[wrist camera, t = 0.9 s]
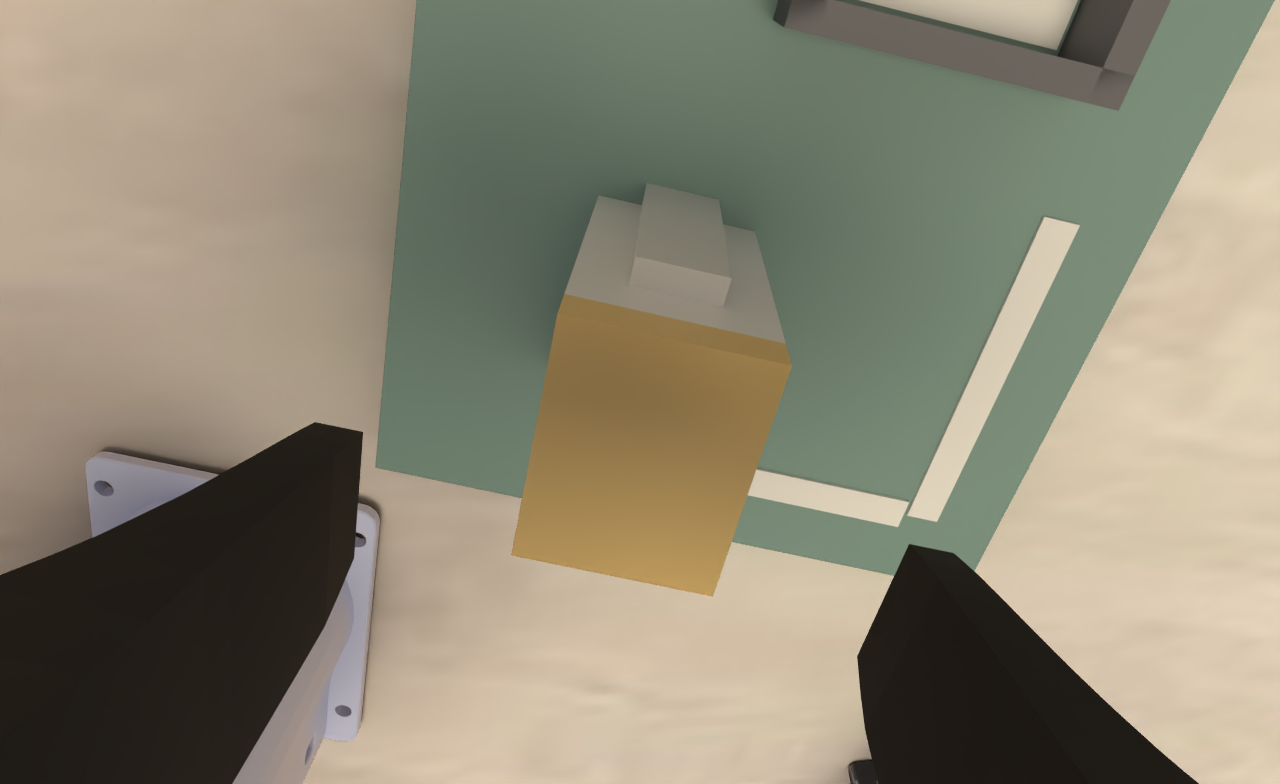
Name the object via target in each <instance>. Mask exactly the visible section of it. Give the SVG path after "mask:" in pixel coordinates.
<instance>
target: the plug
mask: <svg viewBox="0 0 1280 784" xmlns="http://www.w3.org/2000/svg"><path fill="white" fill-rule="evenodd" d="M791 367H792V364H791V361H790V357H789V353H788V350H787V346H786V342H785V339H784V335H783V331H782V328H781V324H780V320H779V317H778V313H777V310H776V306H775V302H774V299H773V295H772V291H771V288H770V284H769V280H768V277H767V273H766V269H765V266H764V262H763V258H762V255H761V251H760V247H759V244H758V240H757V237H756V233H755V232H754V231H750V230H746V229H741V228H737V227H733V226H729V225H724V224H723V221H722V215H721V209H720V202H719V200H718V199H714V198H710V197H705V196H701V195H697V194H693V193H688V192H684V191H680V190H676V189H671V188H667V187H663V186H659V185H654V184H650V183H647V184H646V188H645V192H644V197H643V201H642V205H639V204H634V203H630V202H626V201H621V200H617V199H613V198H609V197H604V196H600V195H599V196H598V199H597V202H596V205H595V207H594V210H593V213H592V216H591V219H590V222H589V225H588V227H587V230H586V233H585V236H584V239H583V242H582V245H581V248H580V250H579V253H578V256H577V259H576V262H575V265H574V268H573V270H572V273H571V276H570V279H569V282H568V285H567V288H566V290H565V293H564V296H563V299H562V302H561V305H560V308H559V311H558V313H557V318H556V324H555V329H554V334H553V339H552V345H551V350H550V355H549V360H548V366H547V371H546V376H545V381H544V387H543V392H542V397H541V402H540V408H539V413H538V418H537V423H536V429H535V434H534V439H533V444H532V449H531V455H530V460H529V465H528V470H527V476H526V481H525V486H524V491H523V497H522V502H521V507H520V512H519V518H518V523H517V528H516V533H515V539H514V544H513V549H512V554H511V555H512V556H517V557H522V558H527V559H532V560H537V561H542V562H546V563H551V564H556V565H561V566H566V567H571V568H576V569H581V570H586V571H591V572H595V573H600V574H605V575H610V576H615V577H620V578H625V579H630V580H635V581H640V582H644V583H649V584H654V585H659V586H664V587H669V588H674V589H679V590H684V591H689V592H694V593H698V594H703V595H708V596H713V594H714V591H715V588H716V585H717V582H718V580H719V577H720V574H721V571H722V568H723V565H724V562H725V559H726V556H727V553H728V550H729V548H730V545H731V542H732V539H733V536H734V533H735V530H736V527H737V524H738V521H739V519H740V516H741V513H742V510H743V507H744V504H745V501H746V498H747V495H748V492H749V489H750V487H751V484H752V481H753V478H754V475H755V472H756V469H757V466H758V463H759V460H760V458H761V455H762V452H763V449H764V446H765V443H766V440H767V437H768V434H769V431H770V428H771V426H772V423H773V420H774V417H775V414H776V411H777V408H778V405H779V402H780V399H781V397H782V394H783V391H784V388H785V385H786V382H787V379H788V376H789V373H790V370H791Z"/></svg>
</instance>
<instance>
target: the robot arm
mask: <svg viewBox="0 0 1280 784" xmlns="http://www.w3.org/2000/svg"><path fill="white" fill-rule="evenodd" d="M362 439H363V432H360V431H355V430H350V429H345V428H340V427H335V426H331V425H326V424H321V423H316V422H315V423H313V424H311V425H309V426H307V427H305V428H303V429H301V430H299V431H297V432H295V433H294V434H292V435H290V436H288V437H286V438H285V439H283V440H281V441H279V442H278V443H276V444H274V445H272V446H270V447H269V448H267V449H265V450H263V451H262V452H260V453H258V454H256V455H254V456H253V457H251V458H249V459H247V460H246V461H244V462H242V463H240V464H238V465H236V466H235V467H233V468H231V469H229V470H227V471H225V472H223V473H222V474H220V475H219V474H214V473H210V472H205V471H200V470H195V469H190V468H185V467H180V466H176V465H171V464H166V463H161V462H156V461H151V460H146V459H141V458H137V457H132V456H127V455H122V454H117V453H112V452H99V453H96V454H95V455H94V456H93V457H92V458H90V459H89V460H88V462H87V463H86V466H85V474H86V483H87V492H88V502H89V511H90V521H91V530H92V538H91V539H88V540H86V541H84V542H81V543H79V544H77V545H74V546H72V547H70V548H67V549H65V550H63V551H60V552H58V553H55V554H53V555H51V556H48V557H46V558H43V559H40V560H38V561H35V562H33V563H30V564H28V565H25V566H22V567H20V568H17V569H15V570H12V571H10V572H7V573H4V574H2V575H0V784H302V783H303V781H304V779H305V777H306V775H307V772H308V770H309V768H310V766H311V764H312V762H313V759H314V757H315V755H316V753H317V751H318V748H319V746H320V744H321V742H322V740H323V738H325V739H331V740H336V741H343V742H347V741H351V740H353V739H355V738H356V736H357V734H358V731H359V729H360V726H361V717H362V706H363V696H364V685H365V675H366V664H367V654H368V643H369V633H370V622H371V611H372V601H373V590H374V580H375V569H376V559H377V548H378V538H379V527H380V519H379V515H378V514H377V512H376V511H375V510H374V509H373V508H371V507H370V506H367V505H364V504H360V503H358V496H359V481H360V467H361V453H362ZM104 481H105V482H108V483H109V484H110V485H111V486H112V487H113V488H111V487H109V486H108V485H106V484H105V483H104ZM356 532H358V533H360V534H362V535H363V536H364V537H365V538H366V539H361V538H359V537H356ZM857 658H858V669H859V680H860V691H861V700H862V708H863V716H864V724H865V731H866V735H867V740H868V744H869V748H870V752H871V757H872V761H873V765H874V769H875V773H876V777H877V781H878V784H1199V783H1197V782H1196V781H1195V780H1194V779H1192V778H1191V777H1190V776H1189V775H1187V774H1186V773H1185V772H1184V771H1183V770H1182V769H1180V768H1179V767H1178V766H1177V765H1176V764H1175V763H1173V762H1172V761H1171V760H1170V759H1169V758H1168V757H1166V756H1165V755H1164V754H1163V753H1162V752H1161V751H1159V750H1158V749H1157V748H1156V747H1155V746H1154V745H1153V744H1152V743H1150V742H1149V741H1148V740H1147V739H1146V738H1145V737H1144V736H1143V735H1142V734H1141V733H1139V732H1138V731H1137V730H1136V729H1135V728H1134V727H1133V726H1132V725H1131V724H1130V723H1128V722H1127V721H1126V720H1125V719H1124V718H1123V717H1122V716H1121V715H1120V714H1119V713H1118V712H1116V711H1115V710H1114V709H1113V708H1112V707H1111V706H1110V705H1109V704H1108V703H1107V702H1106V701H1105V700H1103V699H1102V698H1101V697H1100V696H1099V695H1098V694H1097V693H1096V692H1095V691H1094V690H1093V689H1092V688H1091V687H1090V686H1089V685H1088V684H1087V683H1086V682H1085V681H1084V680H1083V679H1082V678H1081V677H1080V676H1079V675H1077V674H1076V673H1075V672H1074V671H1073V670H1072V669H1071V668H1070V667H1069V666H1068V665H1067V664H1066V663H1065V662H1064V661H1063V660H1062V659H1061V658H1060V657H1059V656H1058V655H1057V654H1056V653H1055V652H1054V651H1053V650H1052V649H1051V648H1050V647H1049V646H1048V645H1047V644H1046V643H1045V642H1044V641H1043V640H1042V639H1041V638H1040V637H1039V636H1038V635H1037V634H1036V633H1035V632H1034V631H1033V630H1032V629H1031V628H1030V627H1029V626H1028V625H1027V624H1026V623H1025V622H1024V621H1023V620H1022V619H1021V617H1020V616H1019V615H1018V614H1017V613H1016V612H1015V611H1014V610H1013V609H1012V608H1011V607H1010V606H1009V605H1008V604H1007V603H1006V602H1005V601H1004V600H1003V599H1002V598H1001V597H1000V596H999V595H998V594H997V593H996V592H995V591H994V590H993V589H992V588H991V587H990V586H989V585H988V584H987V583H986V582H985V581H984V580H983V579H982V578H981V577H980V576H979V575H978V574H976V573H975V572H974V571H973V570H972V569H971V568H970V567H969V566H968V565H967V564H966V563H965V562H963V561H962V560H961V559H960V558H959V557H958V556H957V555H955V554H954V553H951V552H946V551H942V550H937V549H932V548H927V547H922V546H917V545H912V544H909V545H908V547H907V549H906V552H905V554H904V556H903V558H902V560H901V563H900V565H899V567H898V569H897V571H896V573H895V576H894V578H893V580H892V582H891V584H890V586H889V589H888V591H887V593H886V595H885V597H884V600H883V602H882V604H881V606H880V608H879V610H878V613H877V615H876V617H875V619H874V621H873V623H872V626H871V628H870V630H869V632H868V634H867V636H866V639H865V641H864V643H863V645H862V647H861V650H860V652H859V654H858V656H857ZM344 705H345V706H344ZM346 706H347V707H346Z"/></svg>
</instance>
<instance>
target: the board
mask: <svg viewBox="0 0 1280 784" xmlns="http://www.w3.org/2000/svg"><path fill="white" fill-rule="evenodd" d="M1274 1H1275V0H417V4H416V15H415V26H414V38H413V49H412V60H411V72H410V83H409V94H408V106H407V117H406V128H405V139H404V151H403V162H402V173H401V185H400V196H399V207H398V219H397V230H396V241H395V252H394V264H393V275H392V286H391V298H390V309H389V320H388V332H387V343H386V354H385V366H384V377H383V388H382V399H381V411H380V422H379V433H378V445H377V456H376V468H380V469H385V470H390V471H395V472H400V473H404V474H409V475H414V476H419V477H423V478H428V479H433V480H438V481H443V482H447V483H452V484H457V485H462V486H467V487H471V488H476V489H481V490H486V491H491V492H495V493H500V494H505V495H510V496H515V497H519V498H522V497H523V491H524V486H525V481H526V476H527V470H528V465H529V460H530V455H531V449H532V444H533V439H534V434H535V429H536V423H537V418H538V413H539V408H540V402H541V397H542V392H543V387H544V381H545V376H546V371H547V366H548V360H549V355H550V350H551V345H552V339H553V334H554V329H555V324H556V318H557V313H558V311H559V308H560V305H561V302H562V299H563V296H564V293H565V290H566V288H567V285H568V282H569V279H570V276H571V273H572V270H573V268H574V265H575V262H576V259H577V256H578V253H579V250H580V248H581V245H582V242H583V239H584V236H585V233H586V230H587V227H588V225H589V222H590V219H591V216H592V213H593V210H594V207H595V205H596V202H597V199H598V196H599V195H600V196H604V197H609V198H613V199H617V200H621V201H626V202H630V203H634V204H639V205H642V201H643V197H644V192H645V188H646V184H647V183H650V184H654V185H659V186H663V187H667V188H671V189H676V190H680V191H684V192H688V193H693V194H697V195H701V196H705V197H710V198H714V199H718V200H719V202H720V209H721V215H722V221H723V224H724V225H729V226H733V227H737V228H741V229H746V230H750V231H754V232H755V233H756V237H757V240H758V244H759V247H760V251H761V255H762V258H763V262H764V266H765V269H766V273H767V277H768V280H769V284H770V288H771V291H772V295H773V299H774V302H775V306H776V310H777V313H778V317H779V320H780V324H781V328H782V331H783V335H784V339H785V342H786V346H787V350H788V353H789V357H790V361H791V364H792V367H791V370H790V373H789V376H788V379H787V382H786V385H785V388H784V391H783V394H782V397H781V399H780V402H779V405H778V408H777V411H776V414H775V417H774V420H773V423H772V426H771V428H770V431H769V434H768V437H767V440H766V443H765V446H764V449H763V452H762V455H761V458H760V460H759V463H758V466H757V469H756V472H755V475H754V478H753V481H752V484H751V487H750V489H749V492H748V495H747V498H746V501H745V504H744V507H743V510H742V513H741V516H740V519H739V521H738V524H737V527H736V530H735V533H734V536H733V539H732V542H735V543H740V544H745V545H749V546H754V547H759V548H764V549H769V550H773V551H778V552H783V553H788V554H793V555H797V556H802V557H807V558H812V559H817V560H821V561H826V562H831V563H836V564H841V565H845V566H850V567H855V568H860V569H865V570H869V571H874V572H879V573H884V574H888V575H893V576H895V573H896V571H897V569H898V567H899V565H900V563H901V560H902V558H903V556H904V554H905V552H906V549H907V547H908V545H909V544H912V545H917V546H922V547H927V548H932V549H937V550H942V551H946V552H951V553H954V554H955V555H957V556H958V557H959V558H960V559H961V560H962V561H963V562H965V563H966V564H967V565H968V566H969V567H970V568H971V569H972V570H973V571H975V569H976V567H977V565H978V563H979V561H980V559H981V557H982V555H983V553H984V552H985V550H986V548H987V546H988V544H989V542H990V540H991V538H992V536H993V534H994V533H995V531H996V529H997V527H998V525H999V523H1000V521H1001V519H1002V517H1003V515H1004V514H1005V512H1006V510H1007V508H1008V506H1009V504H1010V502H1011V500H1012V498H1013V496H1014V495H1015V493H1016V491H1017V489H1018V487H1019V485H1020V483H1021V481H1022V479H1023V477H1024V476H1025V474H1026V472H1027V470H1028V468H1029V466H1030V464H1031V462H1032V460H1033V458H1034V457H1035V455H1036V453H1037V451H1038V449H1039V447H1040V445H1041V443H1042V441H1043V439H1044V438H1045V436H1046V434H1047V432H1048V430H1049V428H1050V426H1051V424H1052V422H1053V420H1054V419H1055V417H1056V415H1057V413H1058V411H1059V409H1060V407H1061V405H1062V403H1063V401H1064V400H1065V398H1066V396H1067V394H1068V392H1069V390H1070V388H1071V386H1072V384H1073V382H1074V381H1075V379H1076V377H1077V375H1078V373H1079V371H1080V369H1081V367H1082V365H1083V363H1084V362H1085V360H1086V358H1087V356H1088V354H1089V352H1090V350H1091V348H1092V346H1093V344H1094V343H1095V341H1096V339H1097V337H1098V335H1099V333H1100V331H1101V329H1102V327H1103V325H1104V324H1105V322H1106V320H1107V318H1108V316H1109V314H1110V312H1111V310H1112V308H1113V306H1114V305H1115V303H1116V301H1117V299H1118V297H1119V295H1120V293H1121V291H1122V289H1123V287H1124V286H1125V284H1126V282H1127V280H1128V278H1129V276H1130V274H1131V272H1132V270H1133V268H1134V267H1135V265H1136V263H1137V261H1138V259H1139V257H1140V255H1141V253H1142V251H1143V249H1144V248H1145V246H1146V244H1147V242H1148V240H1149V238H1150V236H1151V234H1152V232H1153V230H1154V229H1155V227H1156V225H1157V223H1158V221H1159V219H1160V217H1161V215H1162V213H1163V211H1164V210H1165V208H1166V206H1167V204H1168V202H1169V200H1170V198H1171V196H1172V194H1173V192H1174V191H1175V189H1176V187H1177V185H1178V183H1179V181H1180V179H1181V177H1182V175H1183V173H1184V172H1185V170H1186V168H1187V166H1188V164H1189V162H1190V160H1191V158H1192V156H1193V154H1194V153H1195V151H1196V149H1197V147H1198V145H1199V143H1200V141H1201V139H1202V137H1203V135H1204V134H1205V132H1206V130H1207V128H1208V126H1209V124H1210V122H1211V120H1212V118H1213V116H1214V115H1215V113H1216V111H1217V109H1218V107H1219V105H1220V103H1221V101H1222V99H1223V97H1224V96H1225V94H1226V92H1227V90H1228V88H1229V86H1230V84H1231V82H1232V80H1233V78H1234V77H1235V75H1236V73H1237V71H1238V69H1239V67H1240V65H1241V63H1242V61H1243V59H1244V58H1245V56H1246V54H1247V52H1248V50H1249V48H1250V46H1251V44H1252V42H1253V40H1254V39H1255V37H1256V35H1257V33H1258V31H1259V29H1260V27H1261V25H1262V23H1263V21H1264V20H1265V18H1266V16H1267V14H1268V12H1269V10H1270V8H1271V6H1272V4H1273V2H1274Z"/></svg>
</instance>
